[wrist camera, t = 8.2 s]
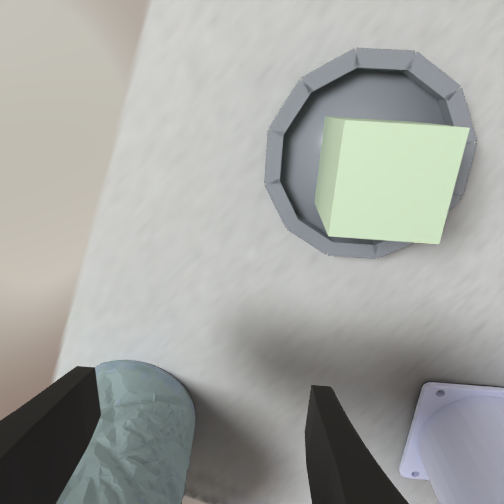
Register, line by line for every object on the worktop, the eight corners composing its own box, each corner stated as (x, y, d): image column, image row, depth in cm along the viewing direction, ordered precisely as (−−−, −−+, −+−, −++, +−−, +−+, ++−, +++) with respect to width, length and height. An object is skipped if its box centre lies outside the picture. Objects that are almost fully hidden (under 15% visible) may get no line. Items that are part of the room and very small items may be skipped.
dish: (476, 60, 16) (500, 54, 15) (429, 249, 20) (444, 263, 18) (273, 50, 17) (273, 43, 15) (261, 237, 20) (259, 250, 18)
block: (414, 121, 16) (469, 128, 12) (396, 208, 18) (439, 244, 13) (325, 116, 17) (344, 120, 12) (314, 202, 18) (328, 236, 13)
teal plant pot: (43, 424, 26) (-129, 661, 15) (93, 319, 23) (-83, 528, 11) (172, 480, 27) (102, 736, 16) (237, 391, 24) (206, 638, 13)
